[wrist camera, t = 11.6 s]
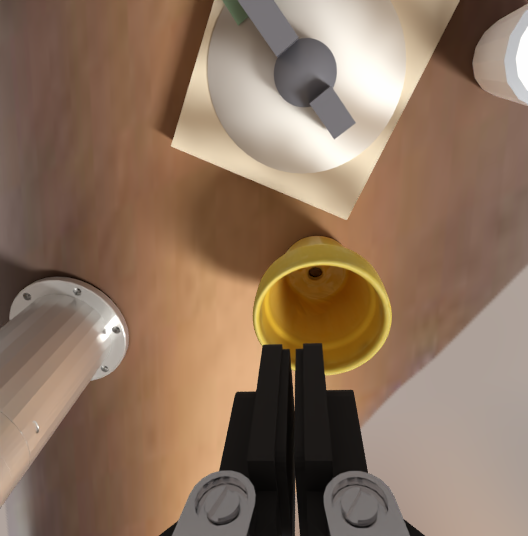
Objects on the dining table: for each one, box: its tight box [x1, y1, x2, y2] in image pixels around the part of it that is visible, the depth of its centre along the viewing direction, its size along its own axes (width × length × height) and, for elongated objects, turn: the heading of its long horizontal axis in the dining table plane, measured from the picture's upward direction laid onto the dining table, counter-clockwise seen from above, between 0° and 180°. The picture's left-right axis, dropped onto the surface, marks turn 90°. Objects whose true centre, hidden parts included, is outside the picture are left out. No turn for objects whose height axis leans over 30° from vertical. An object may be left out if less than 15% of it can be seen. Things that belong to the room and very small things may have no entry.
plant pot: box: [253, 236, 392, 375], centre depth 35 cm, size 10×10×10 cm
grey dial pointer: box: [238, 0, 356, 139], centre depth 28 cm, size 16×4×3 cm, turn 38°
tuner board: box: [171, 0, 460, 220], centre depth 32 cm, size 18×16×2 cm
